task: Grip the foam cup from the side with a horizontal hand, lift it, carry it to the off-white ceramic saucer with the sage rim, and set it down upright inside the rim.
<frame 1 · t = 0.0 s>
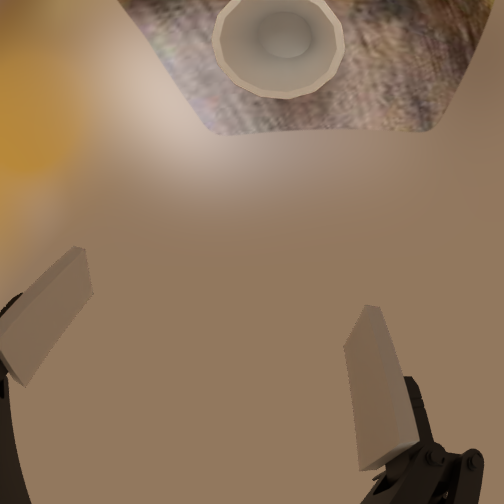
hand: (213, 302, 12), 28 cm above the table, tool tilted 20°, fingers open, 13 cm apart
foam cup: (285, 34, 24), on the table
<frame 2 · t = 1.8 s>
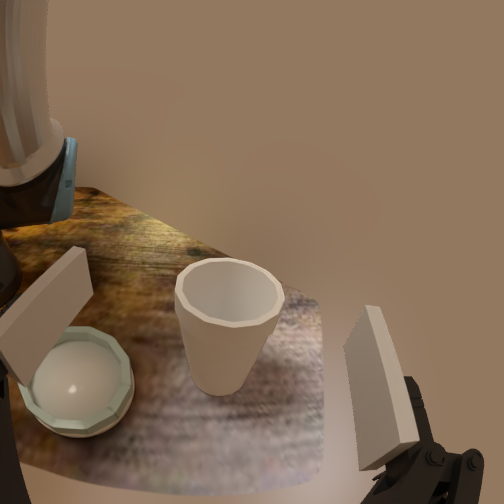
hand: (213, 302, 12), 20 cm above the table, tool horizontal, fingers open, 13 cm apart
foam cup: (218, 374, 31), on the table
ceramic saucer: (76, 382, 24), on the table
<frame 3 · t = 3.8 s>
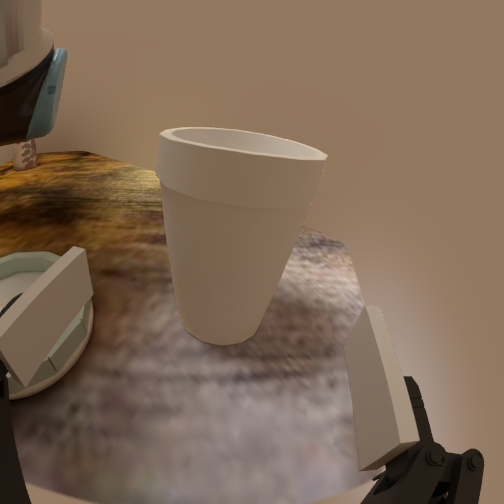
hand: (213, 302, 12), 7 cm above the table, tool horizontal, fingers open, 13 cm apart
foam cup: (219, 316, 21), on the table
figurine: (26, 167, 49), on the table
ceramic saucer: (15, 322, 15), on the table
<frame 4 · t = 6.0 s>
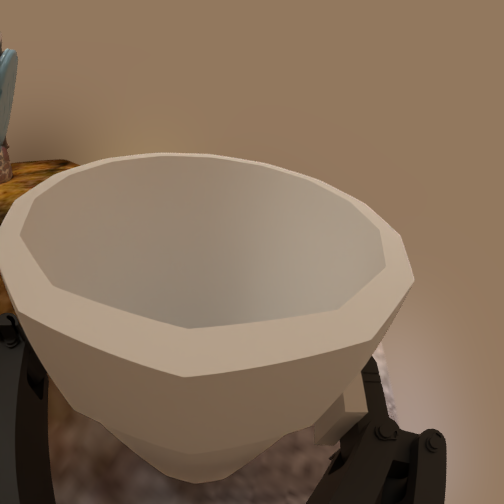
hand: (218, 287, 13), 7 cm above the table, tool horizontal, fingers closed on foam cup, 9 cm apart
foam cup: (194, 434, 13), on the table, touching gripper
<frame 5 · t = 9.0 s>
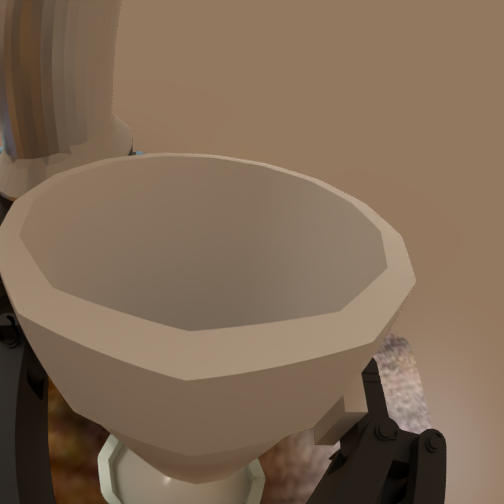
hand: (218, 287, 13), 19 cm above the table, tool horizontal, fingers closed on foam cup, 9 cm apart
foam cup: (195, 434, 13), point 12 cm above the table, touching gripper
ceramic saucer: (180, 478, 18), on the table
when the fingers open (9 cm above the table, at t = 12.1 s): foam cup drops 1 cm, resting on ceramic saucer.
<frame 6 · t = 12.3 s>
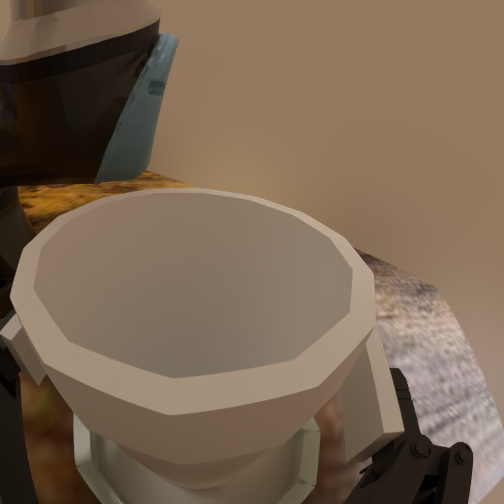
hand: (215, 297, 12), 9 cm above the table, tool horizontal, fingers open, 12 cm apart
foam cup: (195, 444, 13), point 1 cm above the table, touching ceramic saucer
ceramic saucer: (194, 444, 14), on the table
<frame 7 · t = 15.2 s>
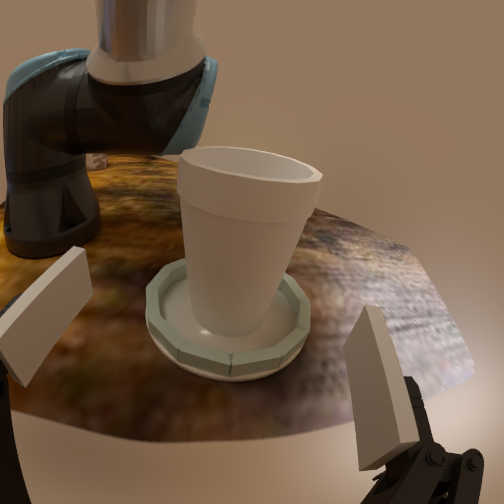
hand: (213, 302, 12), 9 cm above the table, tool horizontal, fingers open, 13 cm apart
foam cup: (228, 312, 24), resting on ceramic saucer
figurine: (94, 168, 59), on the table
ceramic saucer: (227, 314, 25), on the table
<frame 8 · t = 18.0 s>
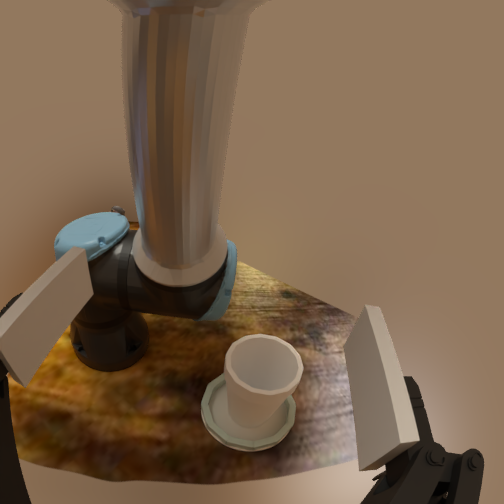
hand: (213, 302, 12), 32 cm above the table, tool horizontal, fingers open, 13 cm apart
foam cup: (248, 411, 38), resting on ceramic saucer
figurine: (118, 247, 72), on the table
ceramic saucer: (247, 411, 38), on the table
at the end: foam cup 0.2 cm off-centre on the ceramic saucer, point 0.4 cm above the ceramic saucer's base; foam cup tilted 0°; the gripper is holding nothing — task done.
